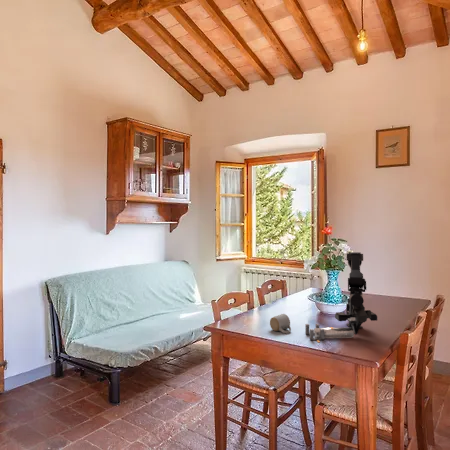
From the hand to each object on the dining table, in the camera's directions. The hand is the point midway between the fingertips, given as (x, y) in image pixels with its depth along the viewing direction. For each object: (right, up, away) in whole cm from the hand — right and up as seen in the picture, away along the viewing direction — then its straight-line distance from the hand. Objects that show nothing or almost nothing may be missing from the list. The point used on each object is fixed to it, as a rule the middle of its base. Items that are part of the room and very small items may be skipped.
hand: (355, 334), depth 179 cm
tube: (-11, -1, 0) cm, 11 cm away
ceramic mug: (-34, -1, +10) cm, 36 cm away
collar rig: (-20, -1, -1) cm, 20 cm away
